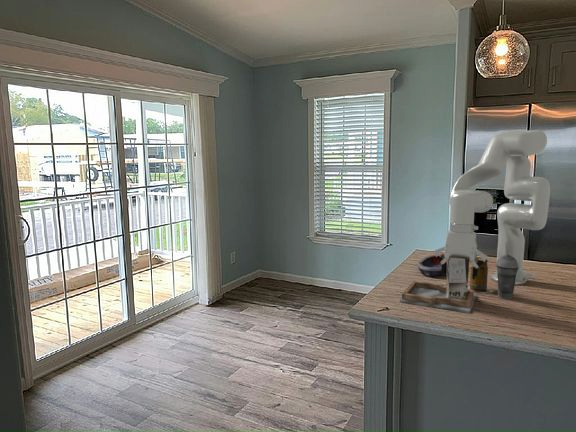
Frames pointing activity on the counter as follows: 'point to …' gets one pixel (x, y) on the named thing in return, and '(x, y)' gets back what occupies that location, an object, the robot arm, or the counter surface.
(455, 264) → the coffee box
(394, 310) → the counter surface
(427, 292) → the wooden tray
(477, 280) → the condiment
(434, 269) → the dish
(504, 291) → the beverage cup
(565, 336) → the counter surface
